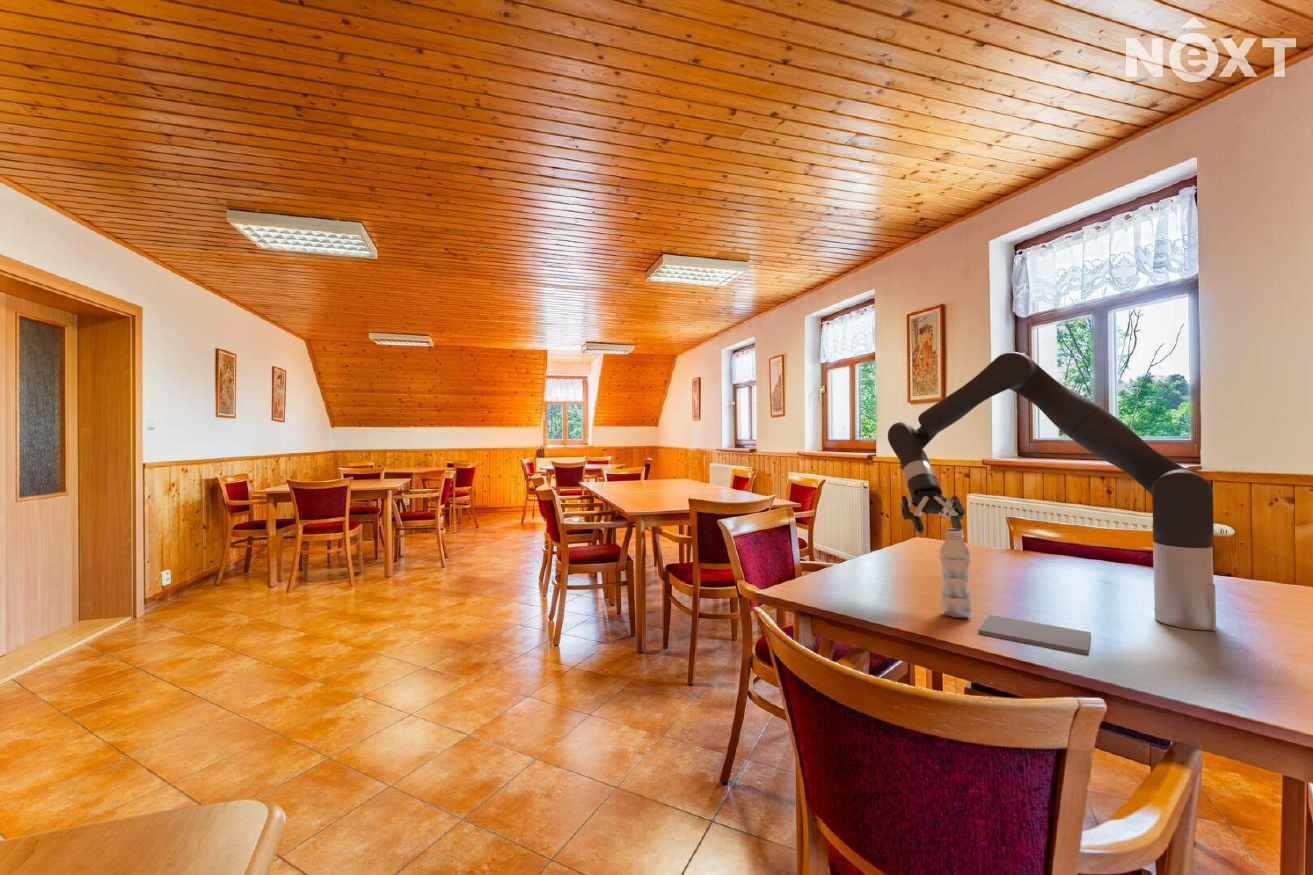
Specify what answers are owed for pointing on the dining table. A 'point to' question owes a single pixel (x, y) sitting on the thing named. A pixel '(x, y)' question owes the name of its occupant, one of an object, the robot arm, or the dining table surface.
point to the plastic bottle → (955, 575)
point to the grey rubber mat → (1037, 634)
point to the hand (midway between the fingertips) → (939, 531)
